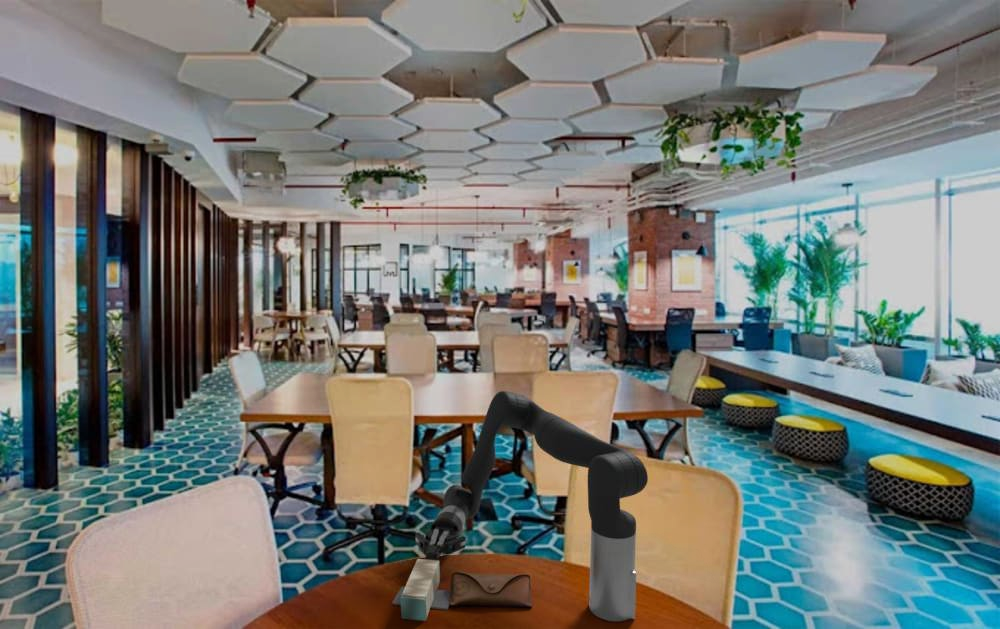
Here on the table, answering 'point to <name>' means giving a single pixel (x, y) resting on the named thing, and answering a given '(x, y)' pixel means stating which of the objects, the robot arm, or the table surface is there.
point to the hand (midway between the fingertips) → (430, 557)
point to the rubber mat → (439, 600)
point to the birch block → (420, 590)
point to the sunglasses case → (490, 590)
